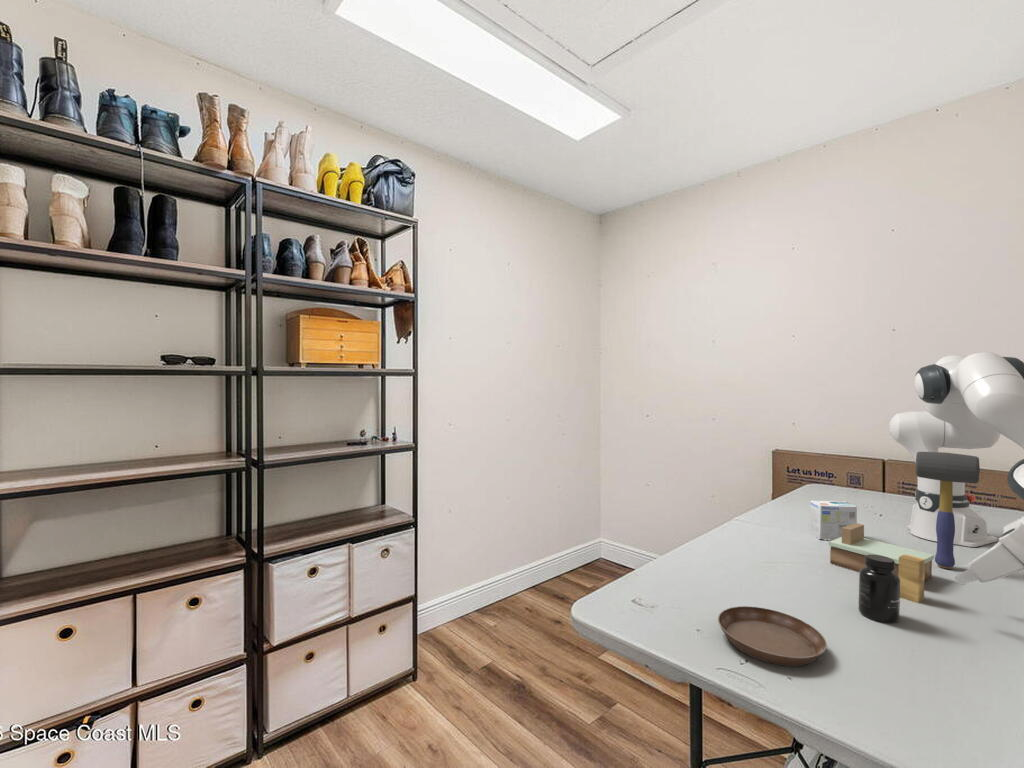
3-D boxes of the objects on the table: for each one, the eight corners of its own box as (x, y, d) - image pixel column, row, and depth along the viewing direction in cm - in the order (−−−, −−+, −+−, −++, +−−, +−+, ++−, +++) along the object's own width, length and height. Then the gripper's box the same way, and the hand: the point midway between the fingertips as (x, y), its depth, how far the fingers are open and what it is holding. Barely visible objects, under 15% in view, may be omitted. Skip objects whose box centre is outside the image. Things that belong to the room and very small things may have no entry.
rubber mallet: (977, 569, 125) (979, 453, 125) (978, 578, 120) (980, 457, 120) (914, 557, 134) (916, 448, 133) (912, 565, 128) (914, 451, 128)
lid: (848, 537, 135) (849, 519, 135) (933, 558, 120) (934, 538, 120) (828, 545, 129) (829, 526, 129) (915, 568, 113) (916, 547, 113)
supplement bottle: (902, 627, 96) (903, 567, 96) (859, 618, 100) (860, 559, 99) (897, 613, 102) (898, 556, 102) (857, 605, 105) (858, 549, 105)
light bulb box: (844, 534, 153) (845, 500, 153) (857, 542, 147) (858, 506, 146) (808, 533, 154) (809, 499, 154) (820, 540, 148) (820, 505, 147)
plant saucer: (834, 643, 91) (834, 627, 91) (815, 688, 77) (816, 669, 77) (734, 612, 102) (735, 597, 102) (703, 646, 89) (703, 629, 89)
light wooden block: (904, 593, 112) (905, 553, 111) (924, 599, 109) (924, 558, 108) (898, 596, 110) (898, 557, 109) (917, 603, 107) (918, 562, 106)
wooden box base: (849, 555, 135) (849, 539, 135) (931, 578, 120) (931, 559, 120) (830, 563, 129) (830, 546, 129) (914, 588, 114) (914, 569, 114)
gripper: (1032, 519, 100) (968, 552, 109) (1003, 536, 89) (934, 571, 97) (1064, 547, 97) (995, 579, 105) (1038, 568, 85) (964, 602, 94)
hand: (966, 575), depth 101 cm, fingers open, 8 cm apart
